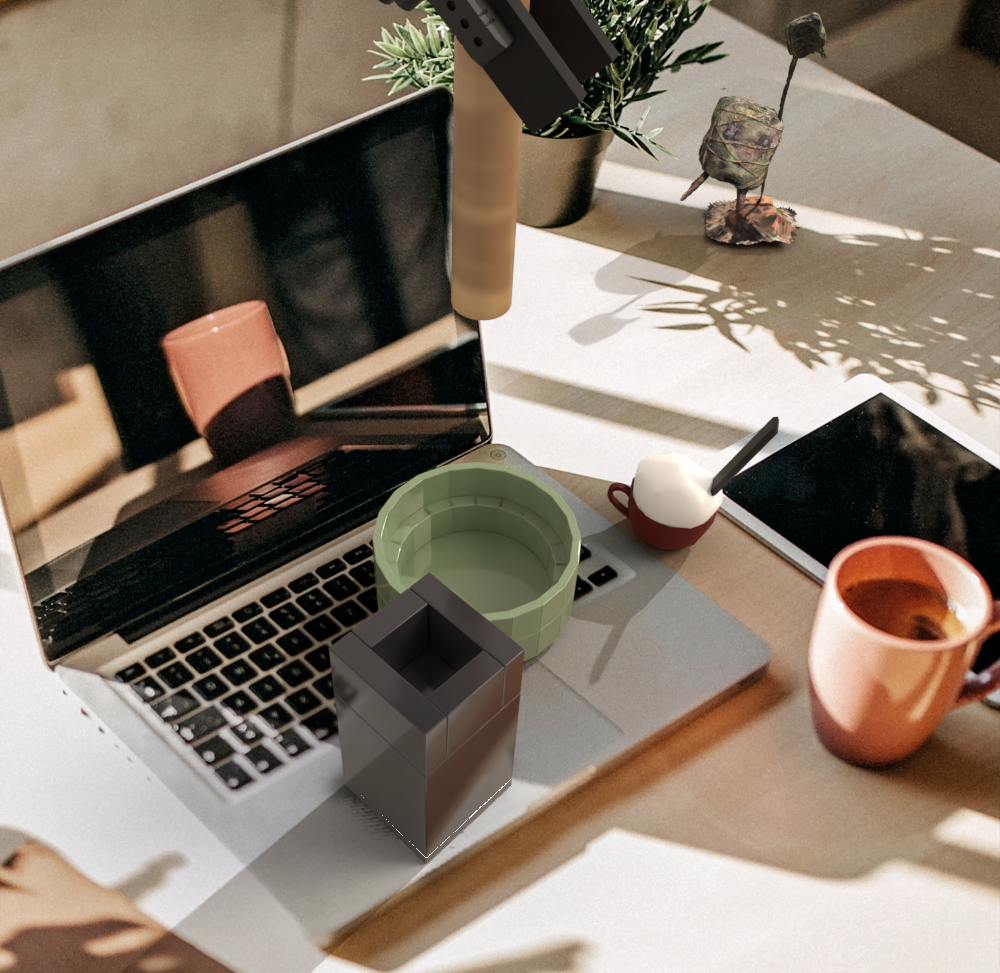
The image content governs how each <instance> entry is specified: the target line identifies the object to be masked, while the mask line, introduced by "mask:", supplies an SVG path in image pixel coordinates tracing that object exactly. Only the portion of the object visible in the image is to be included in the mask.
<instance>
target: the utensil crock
mask: <svg viewBox="0 0 1000 973" xmlns="http://www.w3.org/2000/svg"><path fill="white" fill-rule="evenodd" d="M328 651H329V653H328V654H329V663H330V670H331V678H332V679H331V680H332V687H333V688H332V689H333V695H334V697H333V698H334V706H335V713H336V721H337V730H338V739H339V748H340V756H341V764H342V772H343V773H342V774H343V781H344V786H346V788H348V789H349V791H351V792H352V793H353V794H354V795H355V796H356V797H357V798H358V799H359V800H360V801H361V802H362V803H363V804H364V805H365V806H366V807H367V808H368V809H369V810H370V811H371V812H372V813H373V814H374V815H375V816H376V817H377V818H378V819H379V820H380V821H381V822H382V823H383V824H385V826H386V827H388V828H389V830H390V831H391V832H393V833H394V834H395V836H397V837H398V839H400V840H401V841H402V843H404V845H406V846H407V847H408V848H409V849H410V850H411V851H412V852H413V853H414V854H415V855H416V856H417V857H418V858H419V859H420V860H421V861H422V862H423V863H424V864H425V865H427V864H428V863H430V862H431V861H432V860H433V859H434V858H435V857H436V856H437V855H438V854H439V853H440V852H442V851H443V849H445V848H446V847H447V846H448V845H449V844H450V843H451V842H452V841H453V840H454V839H455V838H456V837H458V835H459V834H461V833H462V832H463V831H464V830H465V829H466V828H467V827H468V826H469V825H470V824H471V823H472V822H474V821H475V820H476V819H477V818H478V817H479V816H480V815H481V814H482V813H483V812H484V811H485V810H487V808H489V806H491V805H492V804H493V802H495V801H496V800H497V799H498V798H499V797H500V796H501V795H502V794H503V793H505V791H507V789H509V788H510V787H511V786H512V782H513V771H514V764H515V754H516V753H515V752H516V743H517V732H518V723H519V722H518V721H519V715H520V714H519V713H520V702H521V693H522V692H521V691H522V682H523V672H524V663H525V661H524V654H525V650H524V648H522V647H521V646H520V645H519V644H517V643H516V642H515V641H514V640H512V639H511V638H510V637H509V636H507V635H506V634H505V633H504V632H503V631H501V630H500V629H499V628H498V627H496V626H495V625H494V624H493V623H491V622H490V621H489V620H488V619H487V618H485V617H484V616H483V615H482V614H480V613H479V612H478V611H477V610H475V609H474V608H473V607H472V606H471V605H469V604H468V603H467V602H466V601H464V600H463V599H462V598H461V597H459V596H458V595H457V594H456V593H454V592H453V591H452V590H451V589H450V588H448V587H447V586H446V585H445V584H443V583H442V582H441V581H440V580H438V579H437V578H436V577H435V576H434V575H432V574H431V573H428V574H426V575H425V576H424V577H422V578H421V579H420V580H418V581H417V582H416V583H414V584H413V585H412V586H410V588H408V589H406V590H405V591H404V592H402V593H401V594H400V595H399V596H397V597H396V598H395V599H393V600H392V601H391V602H389V603H388V604H387V605H385V606H384V607H383V608H381V609H380V610H379V611H378V610H377V611H376V612H375V613H373V614H372V615H371V616H369V617H368V618H367V619H365V620H364V621H363V622H362V623H360V624H359V625H357V626H356V627H355V628H353V629H352V630H351V631H350V632H348V633H346V634H345V635H344V636H342V637H341V638H340V639H338V641H336V642H335V643H333V644H332V645H331V646H330V647H328ZM511 778H512V779H511ZM510 779H511V780H510ZM509 780H510V781H509ZM508 781H509V782H508ZM507 782H508V783H507ZM505 783H507V784H506V785H505ZM504 785H505V786H504ZM502 786H504V787H503V788H502V789H501V787H502ZM499 789H501V790H500V791H498V790H499ZM497 791H498V792H497ZM496 792H497V793H496ZM495 793H496V794H495ZM494 794H495V795H494ZM361 795H362V796H361ZM493 795H494V796H493ZM492 796H493V797H492ZM363 797H364V798H363ZM490 797H492V798H491V799H490ZM488 799H490V800H489V801H488ZM487 801H488V802H487ZM485 802H487V803H486V804H485V805H483V804H484V803H485ZM482 805H483V806H482ZM480 806H482V807H481V808H480V809H479V807H480ZM478 809H479V810H478ZM476 810H478V811H477V812H476V813H475V814H474V815H473V816H472V817H471V818H470V819H469V817H470V816H471V815H472V814H473V813H474V812H475V811H476ZM382 815H383V816H382ZM386 819H387V820H386ZM467 819H468V820H467ZM466 820H467V821H466ZM388 821H389V822H388ZM465 821H466V822H465ZM464 822H465V823H464ZM463 823H464V824H463ZM462 824H463V825H462ZM392 825H393V826H394V827H393V826H392ZM461 825H462V826H461ZM460 826H461V827H460ZM459 827H460V828H459ZM458 828H459V829H458ZM396 829H397V830H398V831H399V832H400V833H401V834H402V835H403V836H402V835H401V834H400V833H399V832H398V831H397V830H396ZM457 829H458V830H457ZM456 830H457V831H456ZM455 831H456V832H455ZM453 832H454V833H453ZM449 836H450V837H449ZM448 837H449V838H448ZM447 838H448V839H447ZM446 839H447V840H446ZM445 840H446V841H445ZM409 841H410V842H409ZM444 841H445V842H444ZM442 842H444V843H443V844H442ZM412 844H413V845H414V846H413V845H412ZM441 844H442V845H441ZM440 845H441V846H440ZM437 847H438V848H437ZM416 848H417V849H418V850H419V851H420V852H421V853H422V854H423V855H424V856H425V857H428V856H429V854H431V853H432V852H433V851H434V850H435V849H436V848H437V849H436V850H435V851H434V852H433V853H432V854H431V855H430V856H429V857H428V858H425V857H424V856H423V855H422V854H421V853H420V852H419V851H418V850H417V849H416Z"/></svg>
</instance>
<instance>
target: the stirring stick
mask: <svg viewBox="0 0 1000 973" xmlns="http://www.w3.org/2000/svg"><path fill="white" fill-rule="evenodd" d="M520 1H521V2H522V3H523V5H524V6H525V8H526V9H527V10H528V12H529V9H530V0H520ZM453 39H454V40H453V110H452V111H453V114H452V116H453V118H452V186H451V188H452V189H451V191H452V192H451V194H452V195H451V197H452V198H451V275H450V276H451V279H450V280H451V283H450V287H451V288H450V302H451V306H452V308H453V310H454V311H455V312H456V313H457V314H458V315H460V316H461V317H463V318H466V319H470V320H472V321H473V320H474V321H491V320H495V319H498V318H500V317H503V316H504V315H506V314H507V313H508V312H509V310H510V309H511V307H512V303H513V302H512V301H513V284H514V272H515V271H514V269H515V254H516V238H517V220H518V207H519V206H518V204H519V190H520V189H519V188H520V172H521V171H520V170H521V169H520V168H521V158H522V157H521V156H522V155H521V154H522V152H521V151H522V140H523V138H522V137H523V125H524V123H523V122H522V120H521V119H520V118H519V116H518V115H517V113H516V112H515V111H514V109H513V108H512V107H511V105H510V104H509V103H508V101H507V100H506V99H505V97H504V96H503V95H502V93H501V92H500V91H499V89H498V88H497V87H496V85H495V84H494V83H493V81H492V80H491V79H490V77H489V76H488V75H487V73H486V72H485V71H484V69H483V68H482V67H481V66H480V65H478V64H477V63H476V62H475V61H474V60H472V59H471V57H470V56H469V55H468V53H467V52H466V51H465V49H464V48H463V45H461V44H460V43H459V41H458V40H457V39H456V36H454V35H453Z"/></svg>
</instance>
